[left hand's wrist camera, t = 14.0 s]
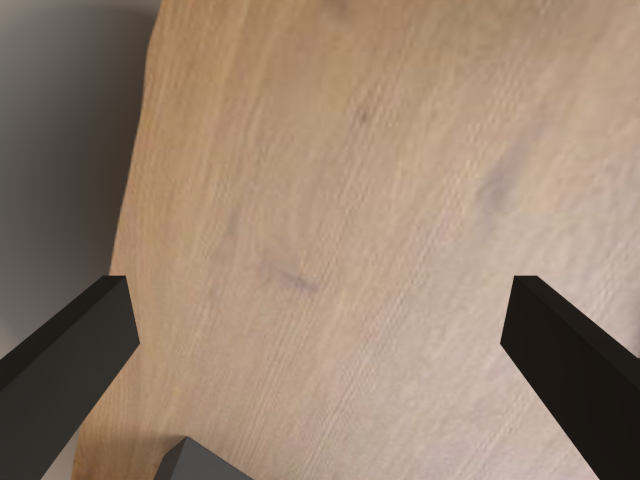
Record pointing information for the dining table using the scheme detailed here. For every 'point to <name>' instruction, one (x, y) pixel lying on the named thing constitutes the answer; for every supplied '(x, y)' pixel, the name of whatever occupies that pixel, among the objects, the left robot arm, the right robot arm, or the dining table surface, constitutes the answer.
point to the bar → (195, 464)
